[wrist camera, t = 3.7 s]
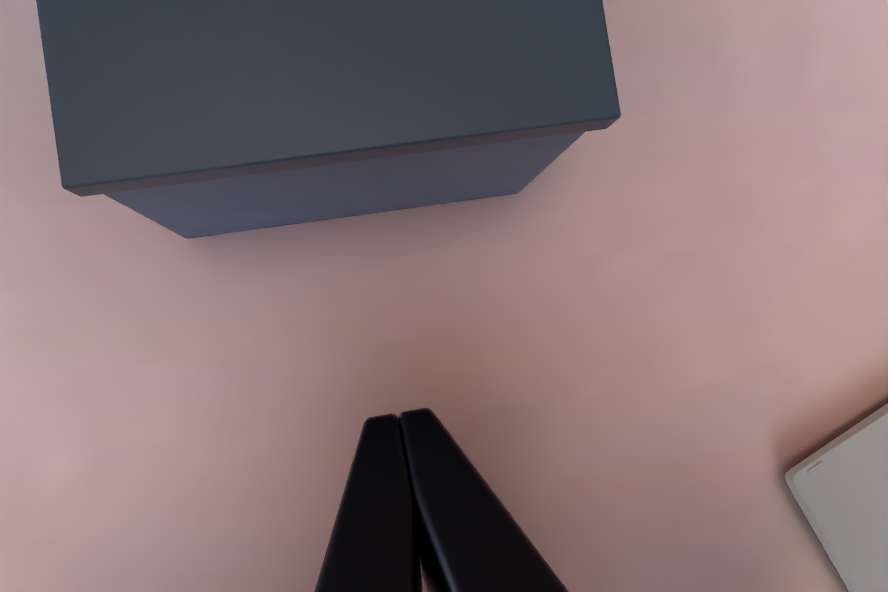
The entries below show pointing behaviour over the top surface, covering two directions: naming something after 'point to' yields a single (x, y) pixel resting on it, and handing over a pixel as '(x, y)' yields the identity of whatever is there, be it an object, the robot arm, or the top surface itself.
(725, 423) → the top surface
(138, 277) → the top surface
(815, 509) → the laptop
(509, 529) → the robot arm
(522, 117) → the storage box
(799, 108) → the top surface
